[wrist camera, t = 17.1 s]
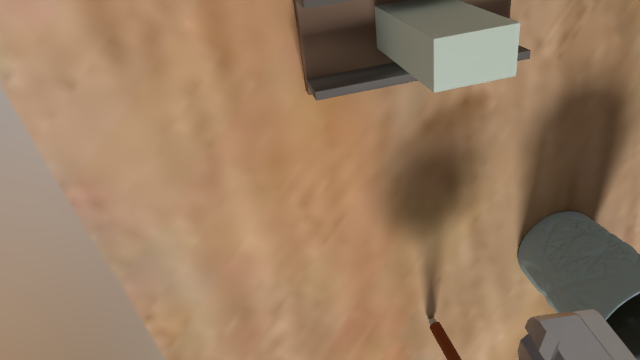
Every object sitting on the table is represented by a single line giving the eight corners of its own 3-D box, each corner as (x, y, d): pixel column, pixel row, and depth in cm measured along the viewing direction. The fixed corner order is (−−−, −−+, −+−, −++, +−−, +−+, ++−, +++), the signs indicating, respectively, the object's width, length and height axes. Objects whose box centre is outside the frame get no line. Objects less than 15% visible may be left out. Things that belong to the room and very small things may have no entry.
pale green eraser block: (374, 5, 35) (433, 39, 26) (441, -6, 35) (520, 22, 27) (377, 48, 36) (433, 92, 28) (441, 36, 37) (515, 76, 28)
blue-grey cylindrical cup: (550, 192, 48) (647, 270, 38) (617, 218, 52) (721, 295, 42) (493, 272, 52) (567, 362, 41) (560, 291, 56) (642, 378, 45)
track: (290, -21, 33) (301, -13, 30) (507, -57, 36) (540, -52, 32) (306, 90, 38) (317, 109, 34) (499, 53, 40) (528, 67, 36)
